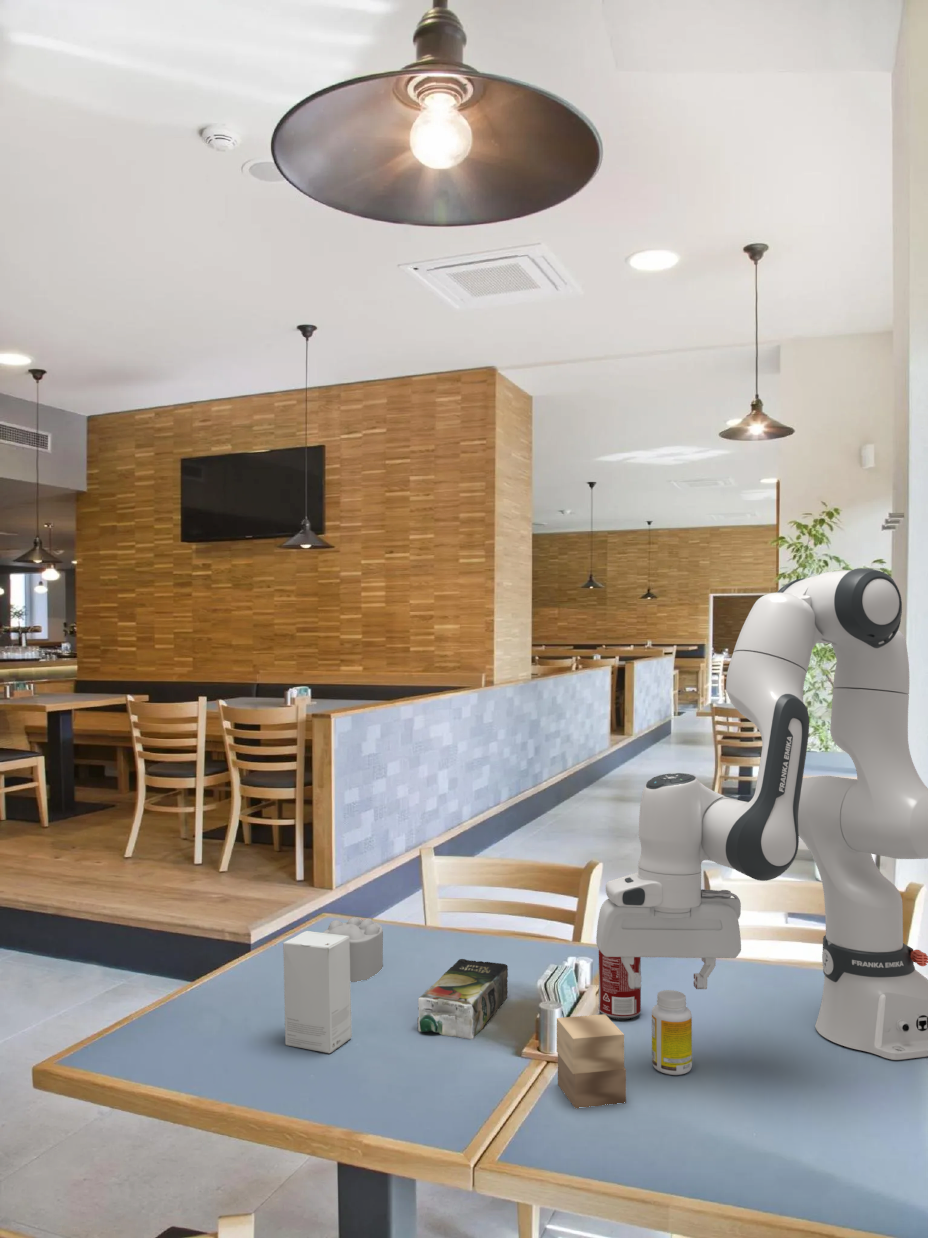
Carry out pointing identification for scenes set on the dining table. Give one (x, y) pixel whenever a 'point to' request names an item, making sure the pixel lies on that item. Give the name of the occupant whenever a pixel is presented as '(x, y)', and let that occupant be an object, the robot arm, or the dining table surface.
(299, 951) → the skincare box
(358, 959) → the lumpy-topped squat cylinder
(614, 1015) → the soda can
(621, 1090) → the tower base block
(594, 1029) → the tower top block
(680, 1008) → the supplement bottle
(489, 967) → the juice carton
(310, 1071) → the dining table surface
